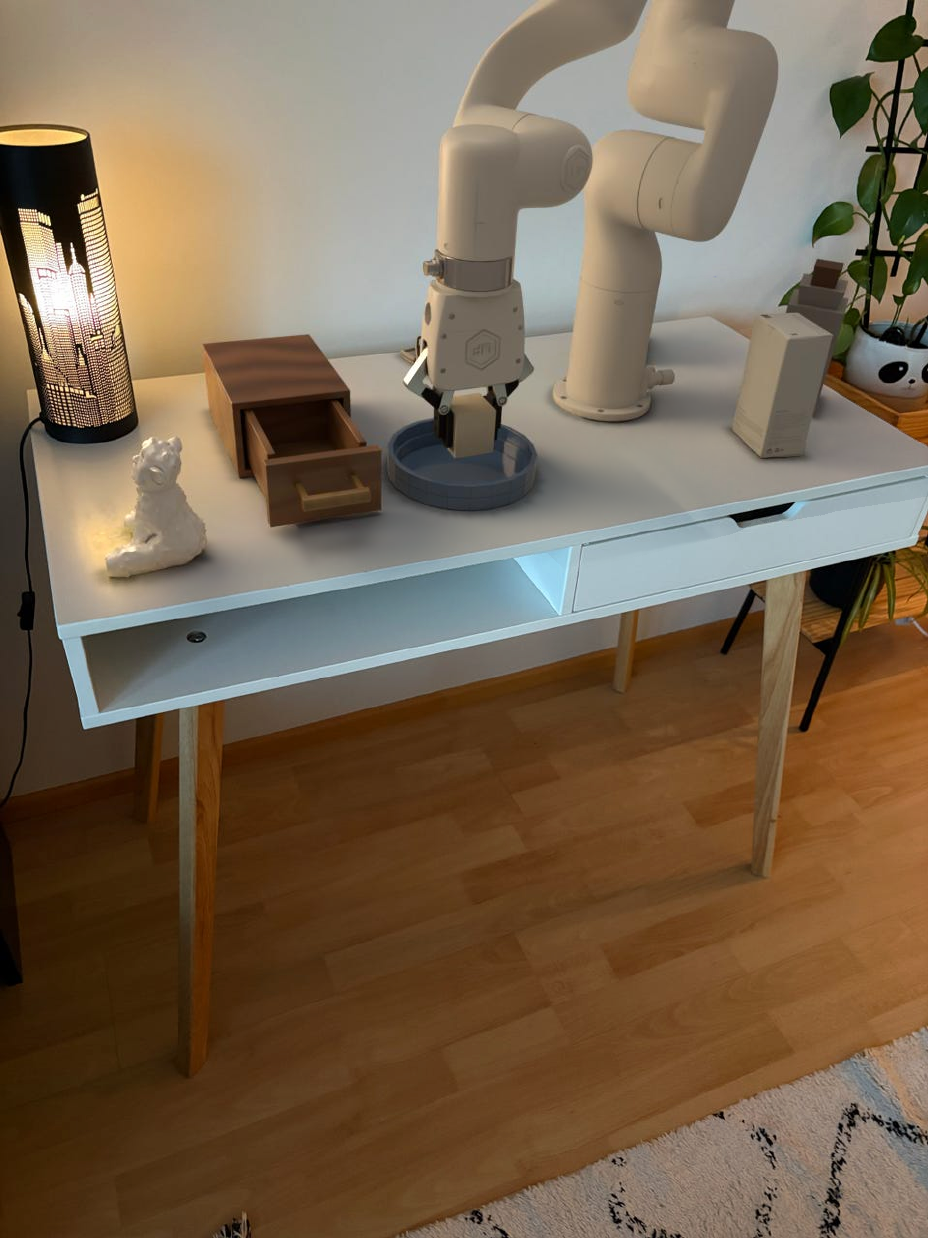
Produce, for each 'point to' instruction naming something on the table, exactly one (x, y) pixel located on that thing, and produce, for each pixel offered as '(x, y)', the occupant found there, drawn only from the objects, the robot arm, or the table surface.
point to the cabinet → (265, 383)
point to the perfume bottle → (822, 302)
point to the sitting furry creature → (158, 515)
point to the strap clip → (412, 352)
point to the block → (472, 425)
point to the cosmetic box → (780, 384)
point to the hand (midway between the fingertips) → (466, 437)
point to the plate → (460, 469)
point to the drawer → (311, 461)
